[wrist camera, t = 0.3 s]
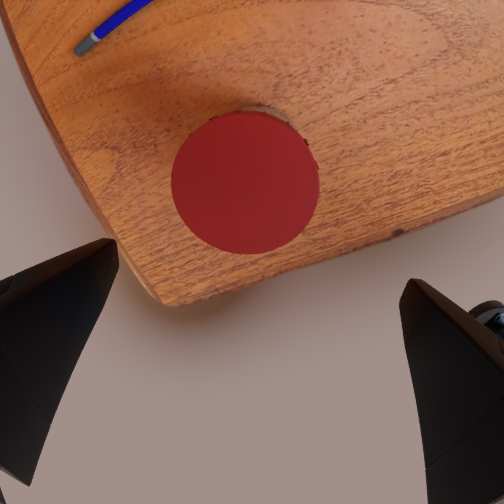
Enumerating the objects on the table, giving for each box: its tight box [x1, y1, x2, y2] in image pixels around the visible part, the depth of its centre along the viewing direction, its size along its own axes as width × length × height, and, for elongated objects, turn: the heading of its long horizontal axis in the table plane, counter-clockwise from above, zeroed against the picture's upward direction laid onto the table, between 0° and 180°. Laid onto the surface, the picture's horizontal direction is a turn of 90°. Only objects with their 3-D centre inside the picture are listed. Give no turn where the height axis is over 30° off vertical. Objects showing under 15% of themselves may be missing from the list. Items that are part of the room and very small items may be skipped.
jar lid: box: [171, 109, 320, 254], centre depth 14 cm, size 6×6×2 cm
